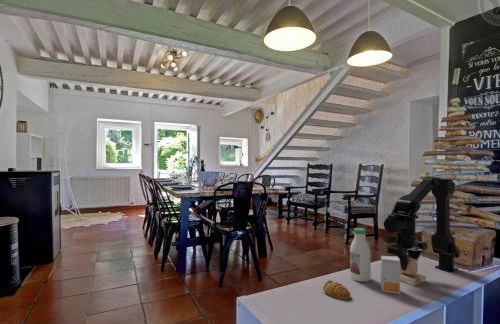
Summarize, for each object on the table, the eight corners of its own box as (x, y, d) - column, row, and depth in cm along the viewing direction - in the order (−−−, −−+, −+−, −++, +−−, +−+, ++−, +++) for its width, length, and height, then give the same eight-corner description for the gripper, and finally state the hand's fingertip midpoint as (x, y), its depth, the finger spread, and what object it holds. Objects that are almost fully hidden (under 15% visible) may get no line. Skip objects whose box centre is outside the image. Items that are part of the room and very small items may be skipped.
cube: (405, 268, 115) (405, 256, 115) (417, 272, 111) (417, 259, 111) (397, 270, 112) (397, 258, 113) (410, 274, 108) (410, 262, 108)
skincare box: (381, 292, 100) (381, 258, 100) (380, 287, 104) (380, 255, 104) (400, 294, 98) (400, 260, 98) (399, 289, 102) (398, 256, 102)
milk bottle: (367, 275, 116) (366, 227, 116) (373, 282, 108) (373, 231, 108) (348, 274, 116) (347, 226, 117) (353, 282, 109) (352, 230, 109)
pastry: (355, 297, 96) (354, 286, 96) (343, 303, 92) (342, 291, 92) (332, 288, 104) (332, 277, 104) (320, 292, 100) (320, 282, 100)
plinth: (403, 273, 118) (403, 268, 118) (425, 280, 110) (425, 275, 110) (390, 277, 113) (390, 272, 113) (412, 285, 105) (412, 279, 105)
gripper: (401, 224, 123) (401, 259, 123) (374, 228, 114) (375, 267, 114) (427, 228, 114) (428, 267, 114) (401, 234, 104) (401, 276, 104)
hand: (407, 269), depth 112 cm, fingers closed on cube, 5 cm apart
